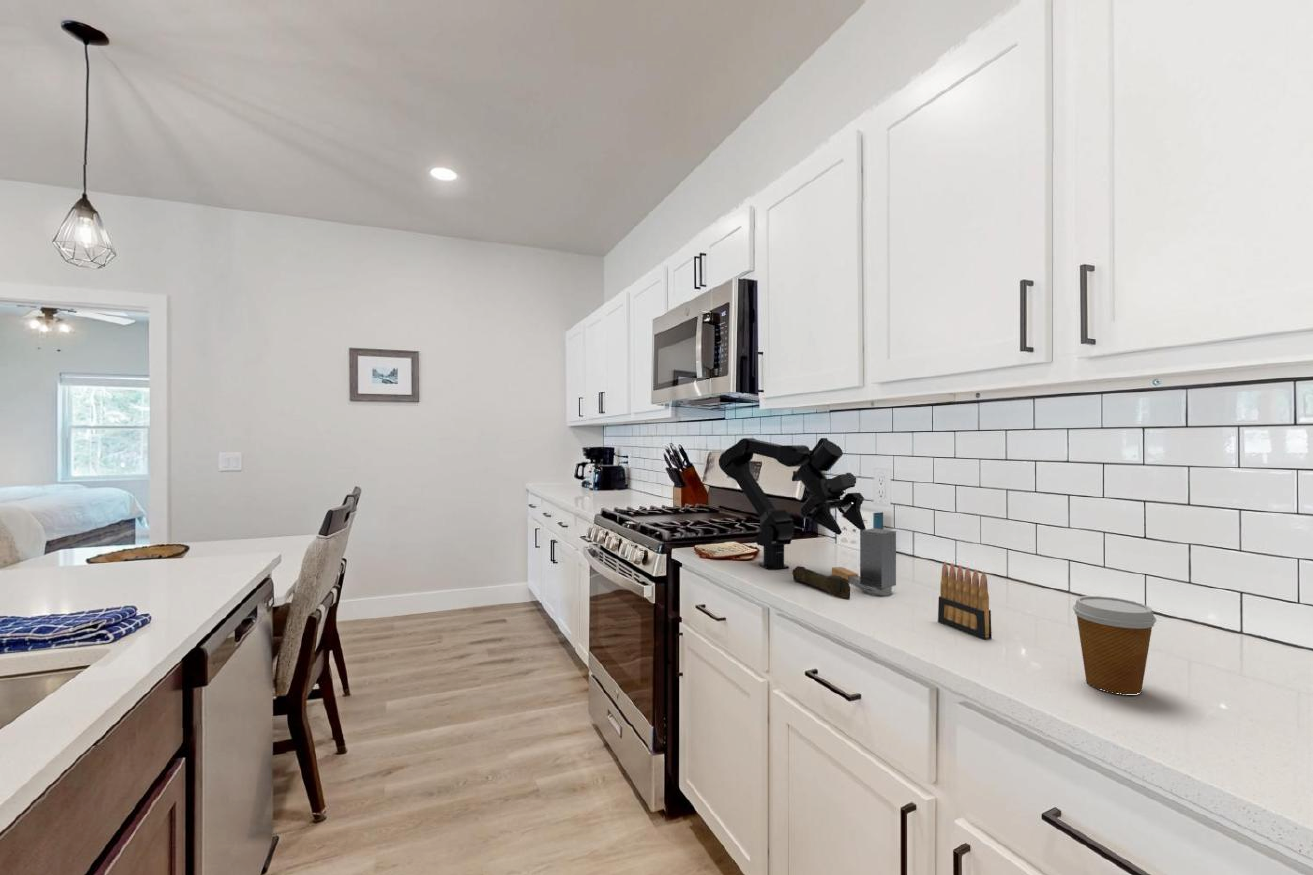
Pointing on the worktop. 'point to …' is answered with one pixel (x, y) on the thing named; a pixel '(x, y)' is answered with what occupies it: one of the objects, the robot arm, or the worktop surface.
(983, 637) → the ammunition clip
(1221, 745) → the worktop surface
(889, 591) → the ratchet
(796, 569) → the hand tool
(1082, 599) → the disposable coffee cup
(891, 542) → the grey metal square prism
